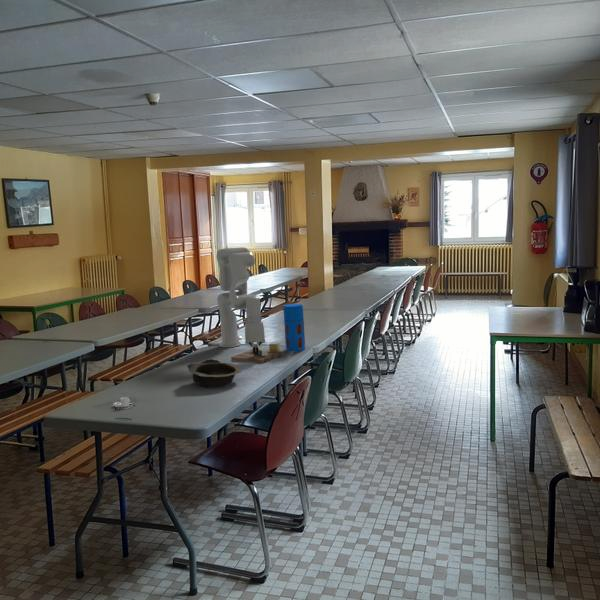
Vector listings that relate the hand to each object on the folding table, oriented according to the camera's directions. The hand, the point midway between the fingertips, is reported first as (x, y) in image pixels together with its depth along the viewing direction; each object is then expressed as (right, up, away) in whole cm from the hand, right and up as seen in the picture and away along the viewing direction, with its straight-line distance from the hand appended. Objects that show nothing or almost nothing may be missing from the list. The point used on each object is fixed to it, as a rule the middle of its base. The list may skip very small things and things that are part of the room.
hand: (255, 354), depth 310 cm
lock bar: (+2, 0, +5) cm, 6 cm away
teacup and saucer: (-48, -15, -68) cm, 84 cm away
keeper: (+9, +1, +9) cm, 13 cm away
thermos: (+21, +1, +20) cm, 29 cm away
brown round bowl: (-15, -9, -42) cm, 45 cm away
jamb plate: (+1, -2, +4) cm, 5 cm away
